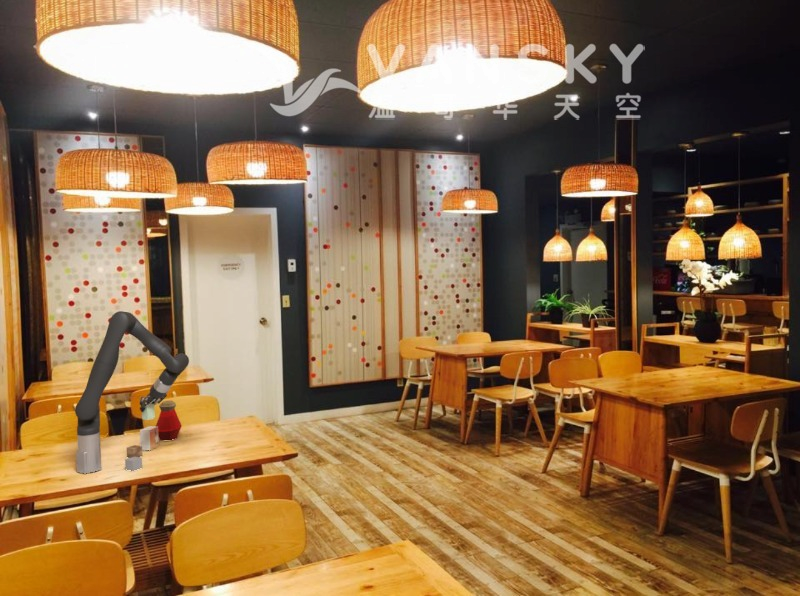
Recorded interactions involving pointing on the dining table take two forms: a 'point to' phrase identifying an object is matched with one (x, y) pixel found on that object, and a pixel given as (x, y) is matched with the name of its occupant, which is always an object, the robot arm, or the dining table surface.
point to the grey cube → (133, 463)
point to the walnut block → (134, 451)
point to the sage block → (148, 412)
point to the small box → (149, 438)
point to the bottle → (168, 421)
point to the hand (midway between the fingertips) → (145, 409)
